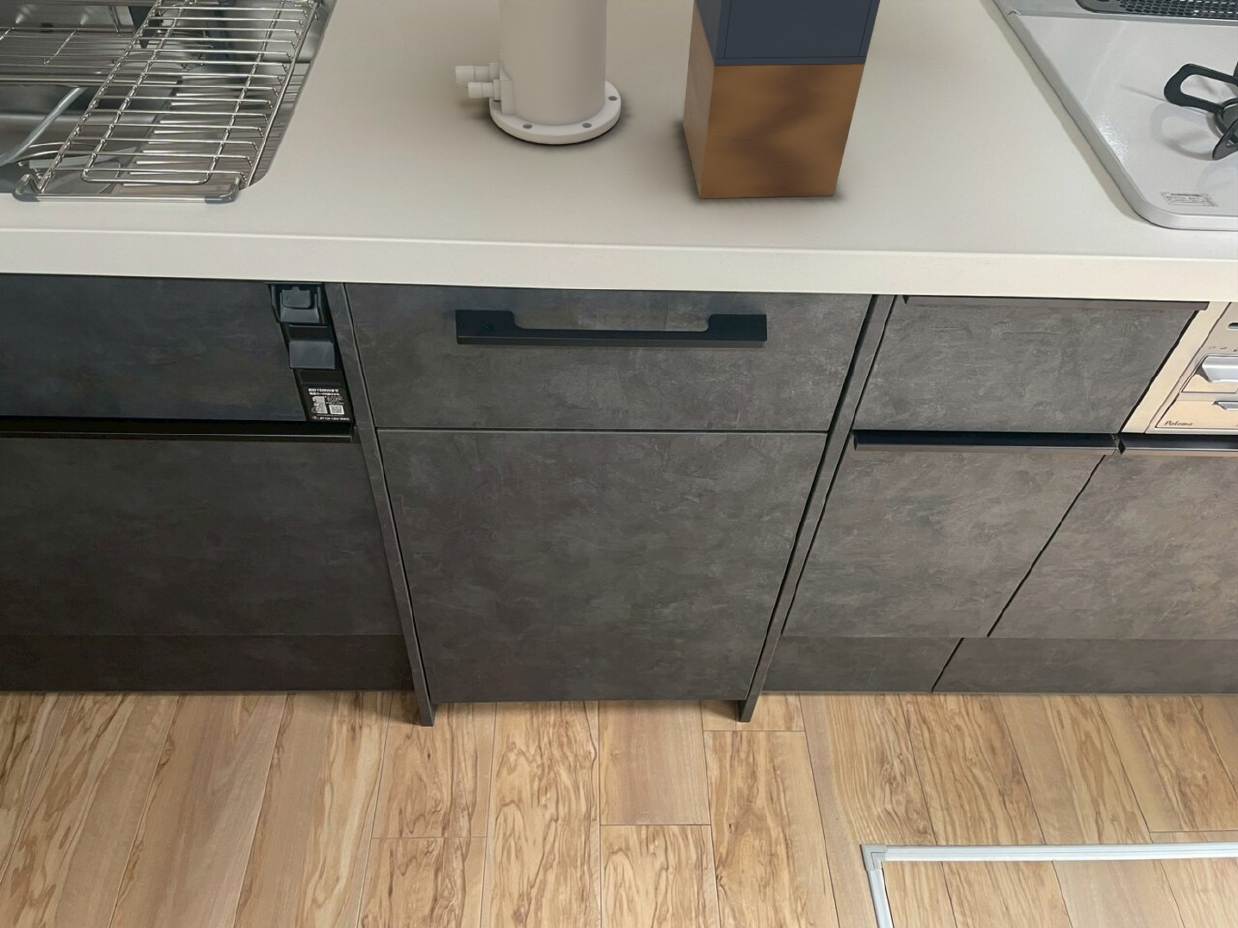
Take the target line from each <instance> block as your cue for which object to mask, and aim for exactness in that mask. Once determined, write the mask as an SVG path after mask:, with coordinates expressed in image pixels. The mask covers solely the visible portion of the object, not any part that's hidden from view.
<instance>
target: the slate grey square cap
mask: <svg viewBox="0 0 1238 928" xmlns="http://www.w3.org/2000/svg"><path fill="white" fill-rule="evenodd" d="M695 1H696V4H697V8H698V11H699V14H700V18H701V21H702V24H703V28H704V31H705V34H706V38H707V41H708V45H709V48H710V51H711V55H712V58H713V61H714V65H715V66H724V65H811V64H865V65H866V62H867V57H868V53H869V49H870V45H871V41H872V37H873V33H874V29H875V24H876V20H877V15H878V11H879V9H880V8H879V7H880V3H881V0H695Z"/></svg>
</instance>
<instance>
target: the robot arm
mask: <svg viewBox="0 0 1238 928" xmlns="http://www.w3.org/2000/svg"><path fill="white" fill-rule="evenodd" d="M498 7H499V8H498V10H499V23H500V25H499V26H500V36H501V37H500V41H501V50H500V51H499V61H492V62H489V63H488V64H489V65H487V66H482V65H481V66H478V65H477V66H475V65H455V83H456V88H457V89H459V88H461V89H462V88H467V93H468V98H469V99H483V98H489V100H488V101H489V102H488V103H489V113H490V116H491V118H492V121H493V122H494V123H495V124H496V125H497V127H499V128H500V129H502V130H503V131H504V132H505V133H507V134H509V135H511V136H513V137H515V138H518V139H521V140H524V141H527V142H532V143H536V144H546V145H566V144H567V145H568V144H574V143H580V142H583V141H588V140H591V139H593V138H596V137H599V136H600V135H602V134H604V133H606V132H607V131H609V130H610V129H611V128H613V127H614V126H615V125H616V123H617V122H618V120H619V119H620V116H621V113H622V99H621V94H620V93H619V91H618V90H617V88H616V87H615V86H614V85H613V84H612V83H610V81H608V80H606V67H607V66H606V65H607V63H606V62H607V61H606V59H607V16H608V15H607V13H608V12H607V9H608V0H498Z"/></svg>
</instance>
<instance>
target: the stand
mask: <svg viewBox="0 0 1238 928" xmlns="http://www.w3.org/2000/svg"><path fill="white" fill-rule="evenodd" d="M690 29H691V30H690V39H689V49H688V62H687V73H686V85H685V86H686V87H685V96H684V105H683V106H684V108H683V116H682V118H683V119H682V128H683V132H684V136H685V141H686V145H687V149H688V154H689V158H690V162H691V166H692V170H693V175H694V178H695V184H696V189H697V192H698V193H697V194H698V197H699V199H738V198H739V199H740V198H743V199H744V198H775V197H776V198H780V197H781V198H783V197H784V198H785V197H788V198H789V197H826V196H828V197H829V196H835V193H836V188H837V184H838V180H839V176H840V171H841V167H842V163H843V159H844V155H845V151H846V146H847V144H848V143H847V142H848V138H849V133H850V130H851V125H852V121H853V117H854V112H855V108H856V105H857V100H858V96H859V91H860V88H861V83H862V79H863V75H864V71H865V67H866V63H865V64H811V65H724V66H715V65H714V61H713V58H712V55H711V51H710V48H709V45H708V41H707V38H706V34H705V31H704V28H703V24H702V21H701V18H700V14H699V11H698V8H697V4H696V1H695V0H693V5H692V18H691V27H690Z"/></svg>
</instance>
